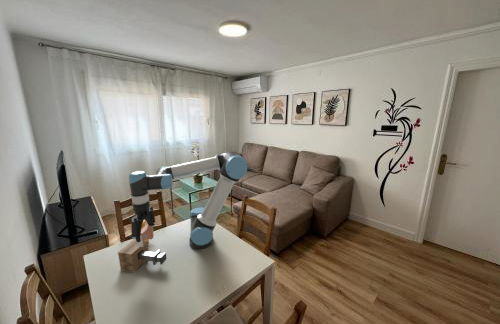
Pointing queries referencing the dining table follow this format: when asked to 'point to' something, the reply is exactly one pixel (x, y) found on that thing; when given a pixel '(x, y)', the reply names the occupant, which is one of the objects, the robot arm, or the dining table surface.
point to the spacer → (147, 231)
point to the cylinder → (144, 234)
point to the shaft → (152, 256)
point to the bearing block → (131, 256)
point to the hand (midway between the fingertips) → (146, 241)
